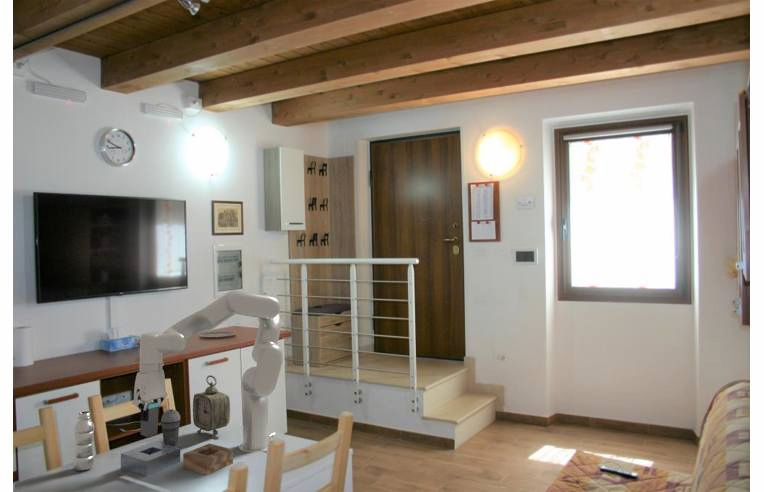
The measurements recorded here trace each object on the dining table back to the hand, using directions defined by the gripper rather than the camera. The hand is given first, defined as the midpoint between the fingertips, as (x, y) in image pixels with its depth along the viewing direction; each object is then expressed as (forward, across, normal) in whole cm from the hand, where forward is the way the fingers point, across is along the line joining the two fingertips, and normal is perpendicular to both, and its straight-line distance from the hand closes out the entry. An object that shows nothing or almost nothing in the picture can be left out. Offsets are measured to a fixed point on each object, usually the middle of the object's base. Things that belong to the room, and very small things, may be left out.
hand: (149, 418), depth 200 cm
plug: (+6, 0, 0) cm, 6 cm away
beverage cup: (+18, -16, -8) cm, 25 cm away
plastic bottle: (+18, +12, -19) cm, 29 cm away
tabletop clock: (+17, -36, -7) cm, 40 cm away
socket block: (+18, -1, 0) cm, 18 cm away
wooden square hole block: (+17, -11, +18) cm, 27 cm away
